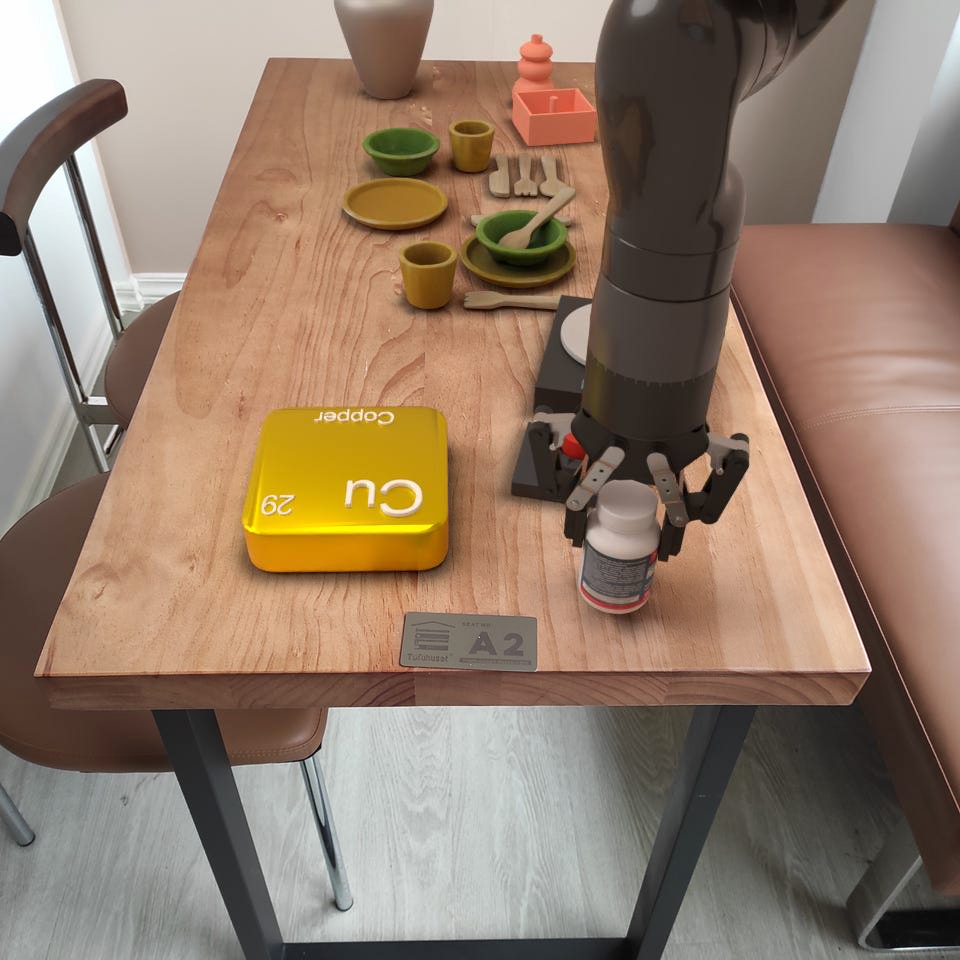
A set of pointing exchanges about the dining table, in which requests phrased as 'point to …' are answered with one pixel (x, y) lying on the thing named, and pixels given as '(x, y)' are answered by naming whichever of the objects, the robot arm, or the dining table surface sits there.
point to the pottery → (548, 102)
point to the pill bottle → (620, 547)
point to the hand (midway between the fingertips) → (621, 545)
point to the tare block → (526, 474)
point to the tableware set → (499, 237)
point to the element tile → (349, 490)
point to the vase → (385, 41)
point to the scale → (565, 357)
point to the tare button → (572, 448)
